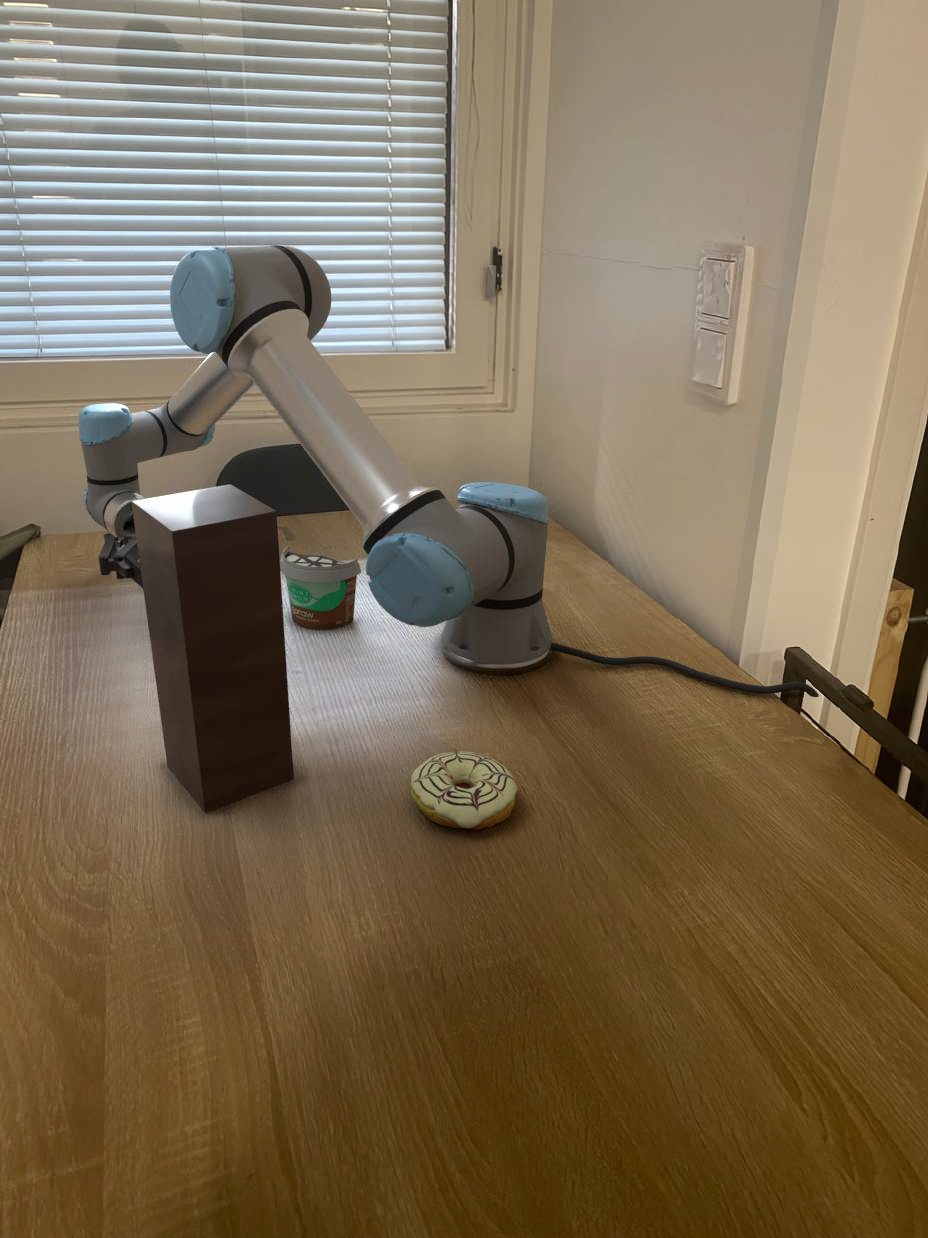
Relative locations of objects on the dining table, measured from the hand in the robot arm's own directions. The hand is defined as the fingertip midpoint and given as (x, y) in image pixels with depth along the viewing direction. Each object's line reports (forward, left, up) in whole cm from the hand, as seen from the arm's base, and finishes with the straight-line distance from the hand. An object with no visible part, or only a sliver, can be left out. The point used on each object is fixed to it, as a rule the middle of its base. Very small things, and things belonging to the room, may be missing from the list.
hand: (196, 568), depth 121 cm
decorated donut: (-35, +36, -11) cm, 52 cm away
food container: (-14, -6, -11) cm, 19 cm away
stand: (-10, +31, -11) cm, 35 cm away
